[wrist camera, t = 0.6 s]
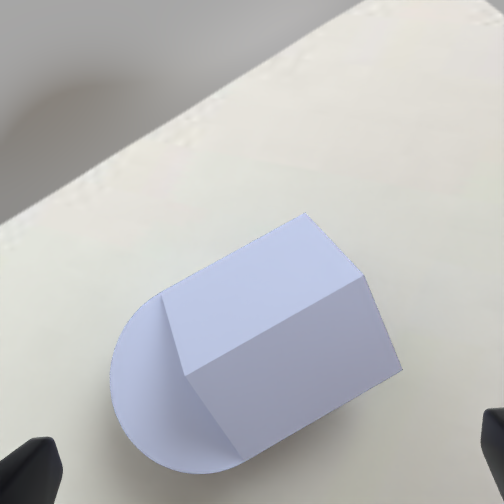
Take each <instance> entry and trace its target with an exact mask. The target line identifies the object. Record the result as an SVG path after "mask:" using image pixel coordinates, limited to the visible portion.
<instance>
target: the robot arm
mask: <svg viewBox="0 0 504 504" xmlns="http://www.w3.org/2000/svg"><path fill="white" fill-rule="evenodd" d="M481 448H482V451H483V454H484V457H485V459H486V461H487V464H488V466H489V468H490V470H491V473H492V475H493V477H494V480H495V482H496V484H497V487H498V489H499V491H500V494H501V496H502V498H503V501H504V408H490V409H486V410H485V411H484V414H483V422H482V432H481ZM62 474H63V467H62V463H61V459H60V456H59V453H58V450H57V447H56V444H55V441H54V440H53V438H51V437H37V438H32V439H30V440H28V441H27V442H26V443H24V444H23V445H22V446H20V447H19V448H17V449H16V450H15V451H13V452H12V453H11V454H9V455H8V456H7V457H5V458H4V459H2V460H1V461H0V504H54V501H55V498H56V495H57V492H58V489H59V486H60V482H61V479H62Z"/></svg>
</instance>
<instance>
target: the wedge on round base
mask: <svg viewBox="0 0 504 504" xmlns="http://www.w3.org/2000/svg"><path fill="white" fill-rule="evenodd" d="M402 370H403V369H402V367H401V364H400V362H399V360H398V357H397V355H396V352H395V350H394V347H393V345H392V342H391V340H390V338H389V335H388V333H387V330H386V328H385V325H384V323H383V320H382V318H381V315H380V313H379V311H378V308H377V306H376V303H375V301H374V298H373V296H372V293H371V291H370V289H369V286H368V284H367V281H366V279H365V276H364V275H363V274H362V272H361V271H360V270H359V269H358V268H357V267H356V266H355V265H354V264H353V263H352V262H351V261H350V260H349V259H348V258H347V257H346V255H345V254H344V253H343V252H342V251H341V250H340V249H339V248H338V247H337V246H336V245H335V244H334V243H333V242H332V241H331V240H330V238H329V237H328V236H327V235H326V234H325V233H324V232H323V231H322V230H321V229H320V228H319V227H318V226H317V225H316V224H315V222H314V221H313V220H312V219H311V218H310V217H309V216H308V215H307V214H306V213H303V214H302V215H300V216H298V217H296V218H294V219H293V220H291V221H289V222H287V223H285V224H283V225H282V226H280V227H278V228H276V229H274V230H273V231H271V232H269V233H267V234H265V235H264V236H262V237H260V238H258V239H256V240H254V241H253V242H251V243H249V244H247V245H245V246H244V247H242V248H240V249H238V250H236V251H234V252H233V253H231V254H229V255H227V256H225V257H224V258H222V259H220V260H218V261H216V262H215V263H213V264H211V265H209V266H207V267H205V268H204V269H202V270H200V271H198V272H196V273H195V274H193V275H191V276H189V277H187V278H185V279H184V280H182V281H180V282H178V283H176V284H175V285H173V286H171V287H169V288H167V289H166V290H164V291H162V292H160V293H159V294H157V295H155V296H154V297H152V298H151V299H149V300H148V301H147V302H146V303H145V304H143V305H142V306H141V307H140V308H139V309H138V310H137V311H136V313H135V314H134V315H133V316H132V317H131V319H130V320H129V321H128V323H127V324H126V326H125V327H124V329H123V331H122V333H121V335H120V337H119V339H118V341H117V344H116V347H115V349H114V353H113V357H112V361H111V369H110V391H111V398H112V403H113V406H114V410H115V413H116V416H117V418H118V420H119V423H120V425H121V427H122V428H123V430H124V432H125V433H126V435H127V437H128V438H129V439H130V440H131V441H132V443H133V444H134V445H135V446H136V447H137V448H138V449H139V450H140V451H141V452H142V453H143V454H144V455H146V456H147V457H148V458H150V459H151V460H153V461H154V462H156V463H158V464H160V465H162V466H164V467H166V468H169V469H172V470H175V471H178V472H183V473H190V474H209V473H215V472H221V471H224V470H227V469H230V468H233V467H235V466H237V465H239V464H241V463H243V462H245V461H247V460H249V459H250V458H252V457H254V456H256V455H257V454H259V453H261V452H262V451H264V450H266V449H268V448H269V447H271V446H273V445H275V444H276V443H278V442H280V441H281V440H283V439H285V438H287V437H288V436H290V435H292V434H293V433H295V432H297V431H299V430H300V429H302V428H304V427H306V426H307V425H309V424H311V423H312V422H314V421H316V420H318V419H319V418H321V417H323V416H324V415H326V414H328V413H330V412H331V411H333V410H335V409H337V408H338V407H340V406H342V405H343V404H345V403H347V402H349V401H350V400H352V399H354V398H355V397H357V396H359V395H361V394H362V393H364V392H366V391H368V390H369V389H371V388H373V387H374V386H376V385H378V384H380V383H381V382H383V381H385V380H386V379H388V378H390V377H392V376H393V375H395V374H397V373H399V372H400V371H402Z"/></svg>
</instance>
